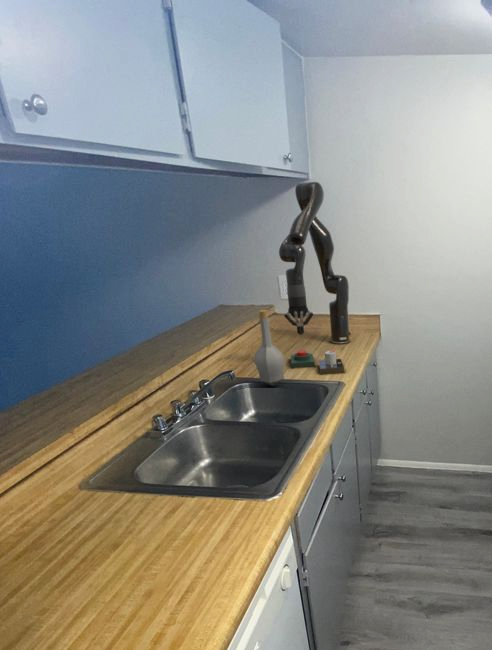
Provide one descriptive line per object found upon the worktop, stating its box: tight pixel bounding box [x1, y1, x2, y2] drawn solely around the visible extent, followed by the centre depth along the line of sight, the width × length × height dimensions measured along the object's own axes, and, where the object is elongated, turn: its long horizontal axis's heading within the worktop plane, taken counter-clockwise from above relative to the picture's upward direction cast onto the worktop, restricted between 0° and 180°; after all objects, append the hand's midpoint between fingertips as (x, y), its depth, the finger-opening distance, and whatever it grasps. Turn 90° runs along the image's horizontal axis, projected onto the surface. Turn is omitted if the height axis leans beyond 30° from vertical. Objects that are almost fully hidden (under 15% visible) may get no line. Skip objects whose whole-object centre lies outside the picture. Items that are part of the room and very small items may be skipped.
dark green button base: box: [290, 352, 315, 369], centre depth 214 cm, size 12×10×4 cm
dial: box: [324, 350, 337, 365], centre depth 206 cm, size 5×5×5 cm
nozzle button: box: [296, 349, 307, 356], centre depth 213 cm, size 4×4×2 cm
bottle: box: [253, 309, 286, 387], centre depth 182 cm, size 11×11×30 cm
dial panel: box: [318, 358, 345, 375], centre depth 208 cm, size 12×10×3 cm
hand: (300, 334), depth 209 cm, fingers closed
